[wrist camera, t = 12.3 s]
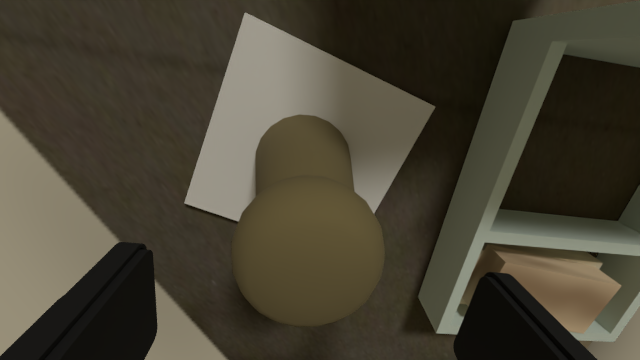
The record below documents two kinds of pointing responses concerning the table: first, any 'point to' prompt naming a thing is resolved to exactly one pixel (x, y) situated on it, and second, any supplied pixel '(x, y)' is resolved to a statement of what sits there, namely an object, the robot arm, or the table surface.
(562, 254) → the offcut lower
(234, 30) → the table surface
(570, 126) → the table surface
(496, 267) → the offcut upper
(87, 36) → the table surface
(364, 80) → the mat
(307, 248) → the cork
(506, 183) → the rack
